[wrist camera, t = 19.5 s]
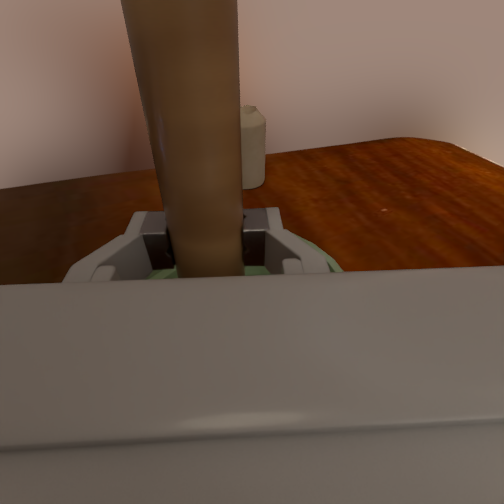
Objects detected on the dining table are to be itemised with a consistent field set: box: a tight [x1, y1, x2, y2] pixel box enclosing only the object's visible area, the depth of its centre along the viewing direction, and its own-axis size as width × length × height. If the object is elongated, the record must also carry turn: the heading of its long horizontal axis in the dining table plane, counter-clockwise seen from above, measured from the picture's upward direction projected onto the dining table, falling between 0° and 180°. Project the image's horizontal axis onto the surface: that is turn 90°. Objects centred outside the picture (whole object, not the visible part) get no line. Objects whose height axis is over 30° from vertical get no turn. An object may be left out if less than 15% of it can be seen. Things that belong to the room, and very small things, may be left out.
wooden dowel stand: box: [121, 0, 245, 278], centre depth 12 cm, size 6×6×18 cm
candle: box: [240, 105, 266, 189], centre depth 41 cm, size 6×6×10 cm
